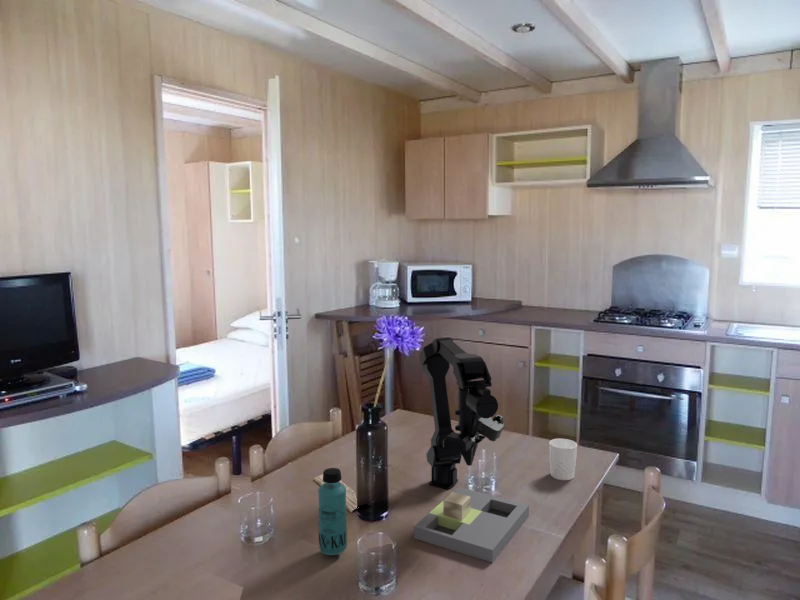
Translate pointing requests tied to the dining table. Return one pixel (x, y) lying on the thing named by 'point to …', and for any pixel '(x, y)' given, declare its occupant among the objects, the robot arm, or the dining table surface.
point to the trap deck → (474, 526)
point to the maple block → (457, 506)
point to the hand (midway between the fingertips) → (469, 465)
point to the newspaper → (350, 494)
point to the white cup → (562, 458)
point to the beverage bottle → (332, 513)
